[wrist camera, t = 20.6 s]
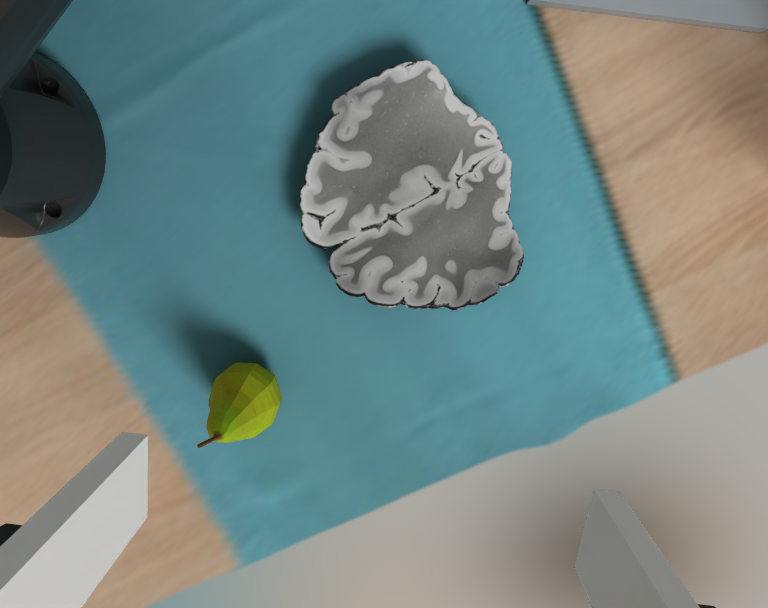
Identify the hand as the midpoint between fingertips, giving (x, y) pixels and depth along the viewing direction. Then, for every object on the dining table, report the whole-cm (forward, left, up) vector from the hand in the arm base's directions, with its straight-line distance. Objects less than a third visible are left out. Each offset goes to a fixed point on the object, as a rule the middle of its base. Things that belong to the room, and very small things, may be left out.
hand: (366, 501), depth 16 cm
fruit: (-11, -11, -32) cm, 35 cm away
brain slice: (+1, +7, -32) cm, 33 cm away
